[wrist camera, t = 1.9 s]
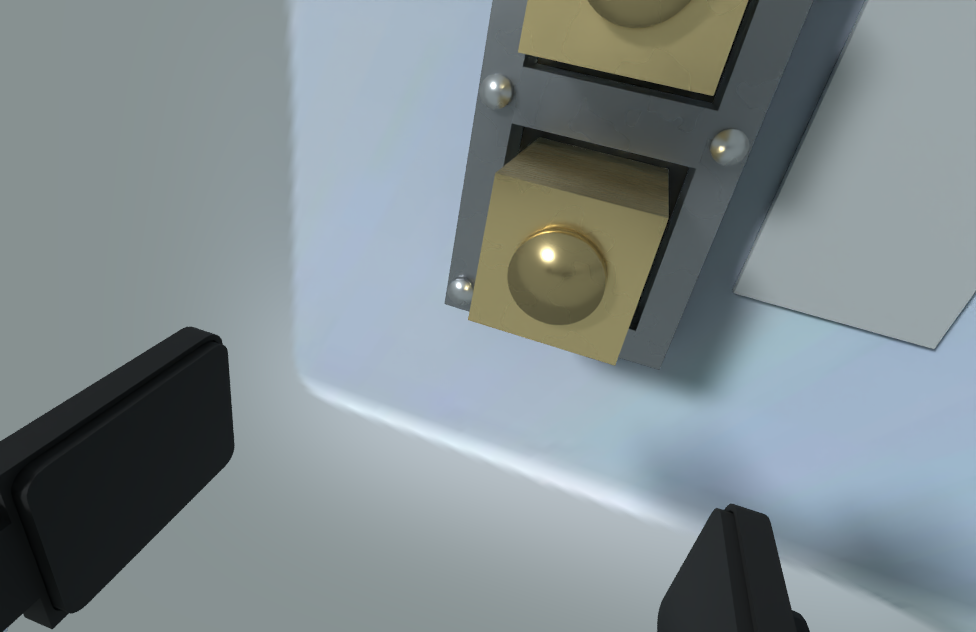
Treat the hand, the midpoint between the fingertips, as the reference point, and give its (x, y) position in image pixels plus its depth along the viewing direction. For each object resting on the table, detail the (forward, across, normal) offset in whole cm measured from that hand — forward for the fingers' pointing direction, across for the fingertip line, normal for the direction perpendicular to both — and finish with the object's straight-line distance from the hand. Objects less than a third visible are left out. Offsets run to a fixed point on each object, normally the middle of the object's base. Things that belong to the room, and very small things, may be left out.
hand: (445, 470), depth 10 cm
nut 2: (+17, -1, 0) cm, 17 cm away
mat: (+16, -12, -5) cm, 21 cm away
